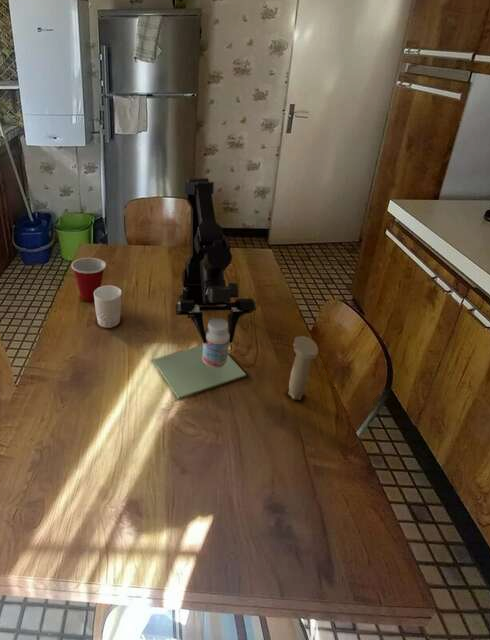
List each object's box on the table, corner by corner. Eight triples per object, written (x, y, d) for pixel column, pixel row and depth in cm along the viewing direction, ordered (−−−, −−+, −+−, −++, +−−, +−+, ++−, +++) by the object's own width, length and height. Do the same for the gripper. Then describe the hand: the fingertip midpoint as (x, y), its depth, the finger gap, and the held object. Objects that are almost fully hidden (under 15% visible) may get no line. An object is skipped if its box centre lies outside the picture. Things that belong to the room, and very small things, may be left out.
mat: (216, 342, 120) (216, 341, 120) (245, 376, 109) (246, 374, 108) (153, 361, 113) (153, 359, 113) (178, 399, 102) (178, 397, 101)
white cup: (118, 331, 124) (117, 301, 120) (91, 327, 126) (90, 298, 121) (124, 315, 131) (124, 286, 127) (99, 311, 133) (98, 283, 128)
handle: (301, 386, 106) (312, 336, 99) (309, 406, 100) (321, 355, 94) (281, 385, 106) (291, 335, 99) (288, 405, 100) (299, 354, 94)
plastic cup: (113, 292, 143) (112, 259, 138) (96, 309, 134) (94, 275, 129) (85, 284, 147) (83, 252, 142) (66, 300, 138) (64, 267, 133)
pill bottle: (197, 359, 108) (199, 322, 103) (213, 348, 112) (216, 312, 107) (215, 372, 104) (219, 335, 99) (231, 361, 108) (236, 324, 103)
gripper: (179, 271, 100) (182, 340, 95) (258, 270, 101) (266, 338, 97) (174, 282, 111) (177, 345, 106) (246, 281, 112) (252, 343, 107)
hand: (217, 342), depth 104 cm, fingers closed on pill bottle, 6 cm apart
